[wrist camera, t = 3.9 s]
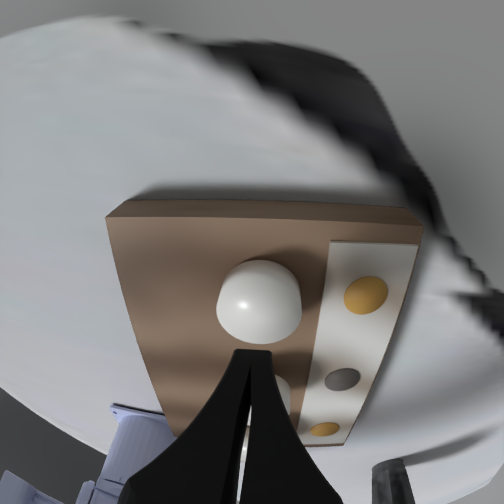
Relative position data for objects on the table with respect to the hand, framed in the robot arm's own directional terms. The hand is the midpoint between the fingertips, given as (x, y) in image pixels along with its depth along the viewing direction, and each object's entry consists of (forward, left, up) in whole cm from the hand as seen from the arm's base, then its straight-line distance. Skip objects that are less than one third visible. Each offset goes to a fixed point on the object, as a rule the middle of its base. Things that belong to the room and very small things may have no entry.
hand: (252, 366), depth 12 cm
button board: (-7, 0, -8) cm, 10 cm away
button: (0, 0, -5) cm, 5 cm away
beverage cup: (-32, -18, -8) cm, 37 cm away
